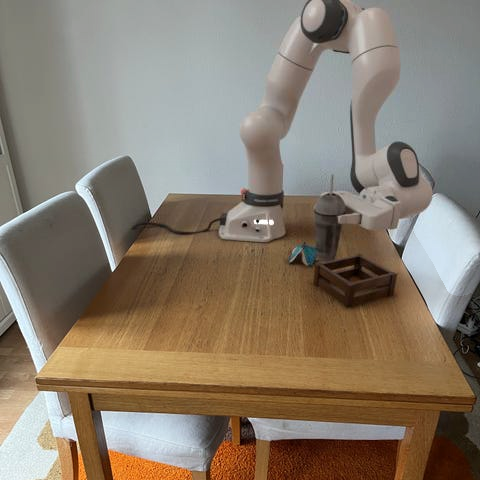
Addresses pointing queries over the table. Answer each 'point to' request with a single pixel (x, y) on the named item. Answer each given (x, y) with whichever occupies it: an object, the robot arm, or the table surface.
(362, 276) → the crate
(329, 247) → the beverage cup
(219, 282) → the table surface
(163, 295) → the table surface
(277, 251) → the table surface
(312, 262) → the decorative butterfly
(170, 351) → the table surface
